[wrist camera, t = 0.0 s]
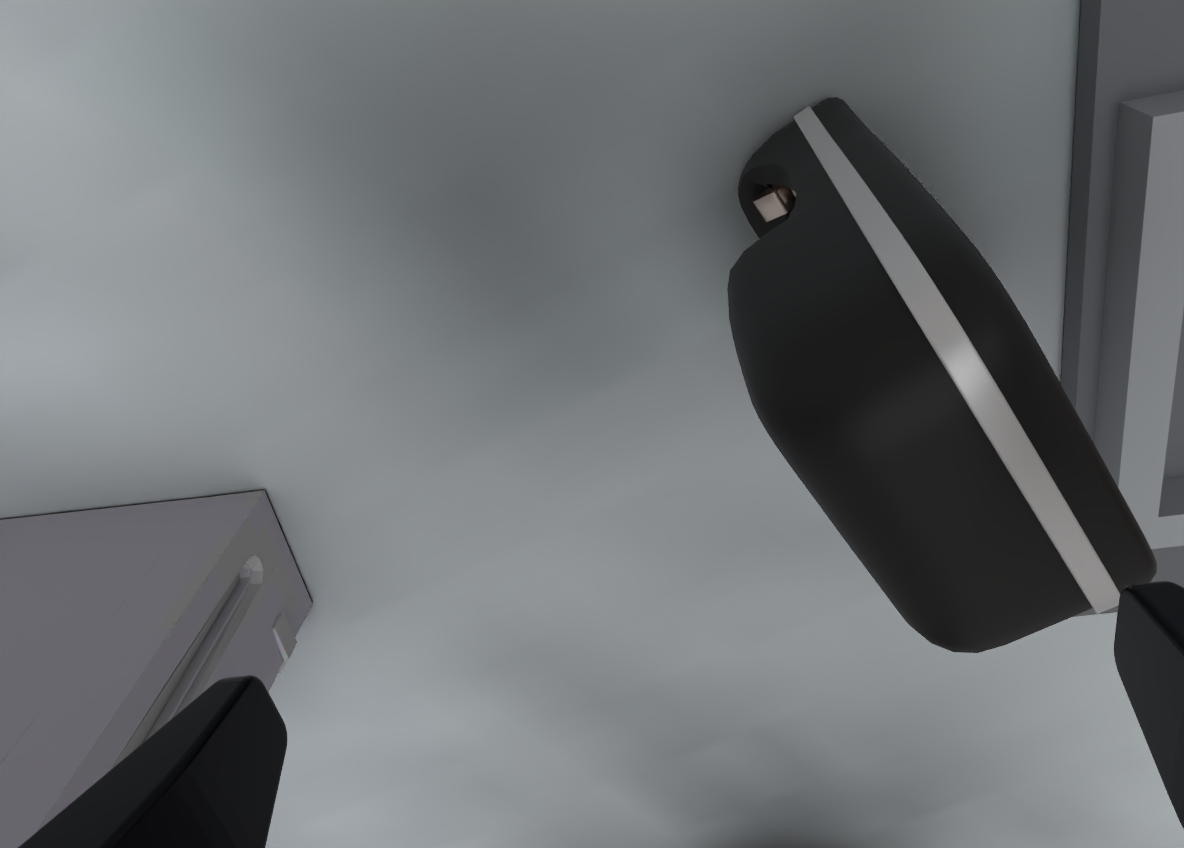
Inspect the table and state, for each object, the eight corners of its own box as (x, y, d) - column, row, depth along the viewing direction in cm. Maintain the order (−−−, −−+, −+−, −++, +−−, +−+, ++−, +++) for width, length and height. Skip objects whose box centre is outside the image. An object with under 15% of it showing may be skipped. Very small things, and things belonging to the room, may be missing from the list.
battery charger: (688, 177, 21) (709, 413, 12) (829, 77, 20) (991, 249, 10) (833, 390, 24) (952, 730, 14) (967, 314, 23) (1202, 632, 13)
